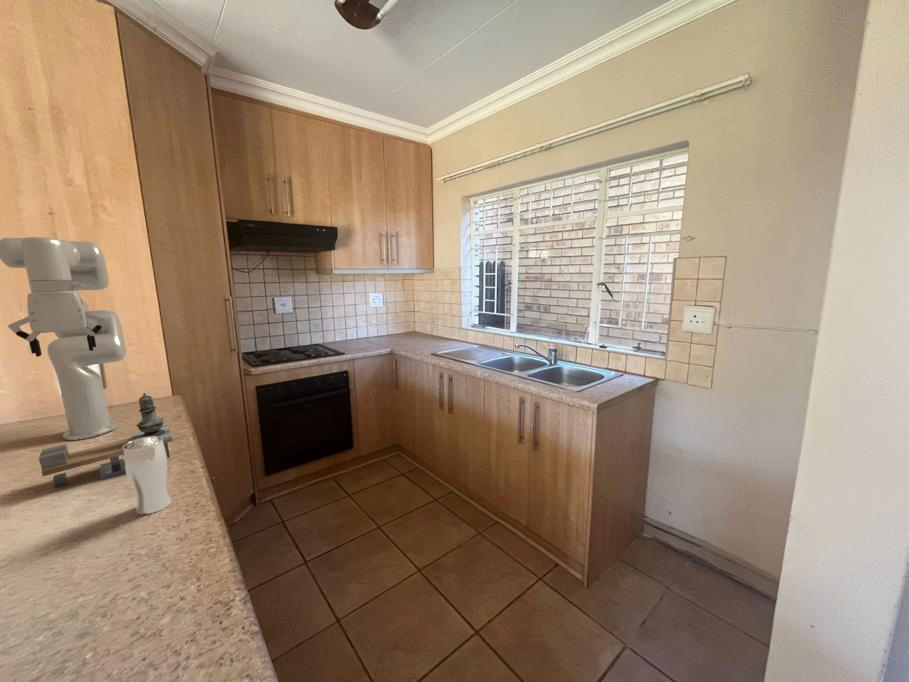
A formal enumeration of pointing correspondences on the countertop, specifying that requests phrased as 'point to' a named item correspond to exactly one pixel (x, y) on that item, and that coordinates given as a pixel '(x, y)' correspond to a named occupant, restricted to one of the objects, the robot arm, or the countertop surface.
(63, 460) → the beam
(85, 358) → the robot arm
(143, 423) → the chess piece
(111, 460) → the beam stand
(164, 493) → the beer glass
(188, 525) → the countertop surface
